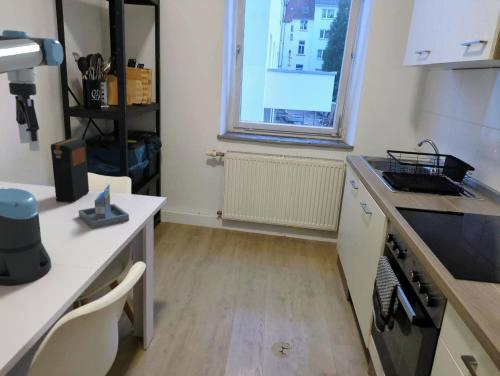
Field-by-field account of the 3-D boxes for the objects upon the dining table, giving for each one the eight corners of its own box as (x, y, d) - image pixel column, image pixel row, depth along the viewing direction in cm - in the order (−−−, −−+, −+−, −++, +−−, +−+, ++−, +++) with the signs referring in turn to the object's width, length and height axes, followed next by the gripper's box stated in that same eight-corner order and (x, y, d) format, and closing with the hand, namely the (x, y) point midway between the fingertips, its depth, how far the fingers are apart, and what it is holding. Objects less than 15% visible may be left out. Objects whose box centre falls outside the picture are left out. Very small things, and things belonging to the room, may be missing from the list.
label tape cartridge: (101, 212, 149) (99, 183, 145) (111, 212, 150) (109, 183, 146) (95, 221, 141) (93, 190, 137) (106, 221, 141) (104, 190, 138)
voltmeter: (73, 191, 173) (68, 137, 165) (91, 192, 172) (87, 138, 165) (53, 202, 158) (47, 143, 151) (73, 204, 158) (67, 145, 150)
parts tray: (129, 220, 145) (128, 214, 144) (92, 228, 136) (91, 222, 135) (114, 209, 155) (114, 203, 154) (79, 216, 146) (78, 210, 145)
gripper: (45, 85, 115) (52, 152, 122) (26, 80, 133) (33, 139, 139) (17, 84, 110) (26, 155, 117) (1, 79, 128) (9, 140, 135)
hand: (29, 146), depth 128 cm, fingers open, 13 cm apart
